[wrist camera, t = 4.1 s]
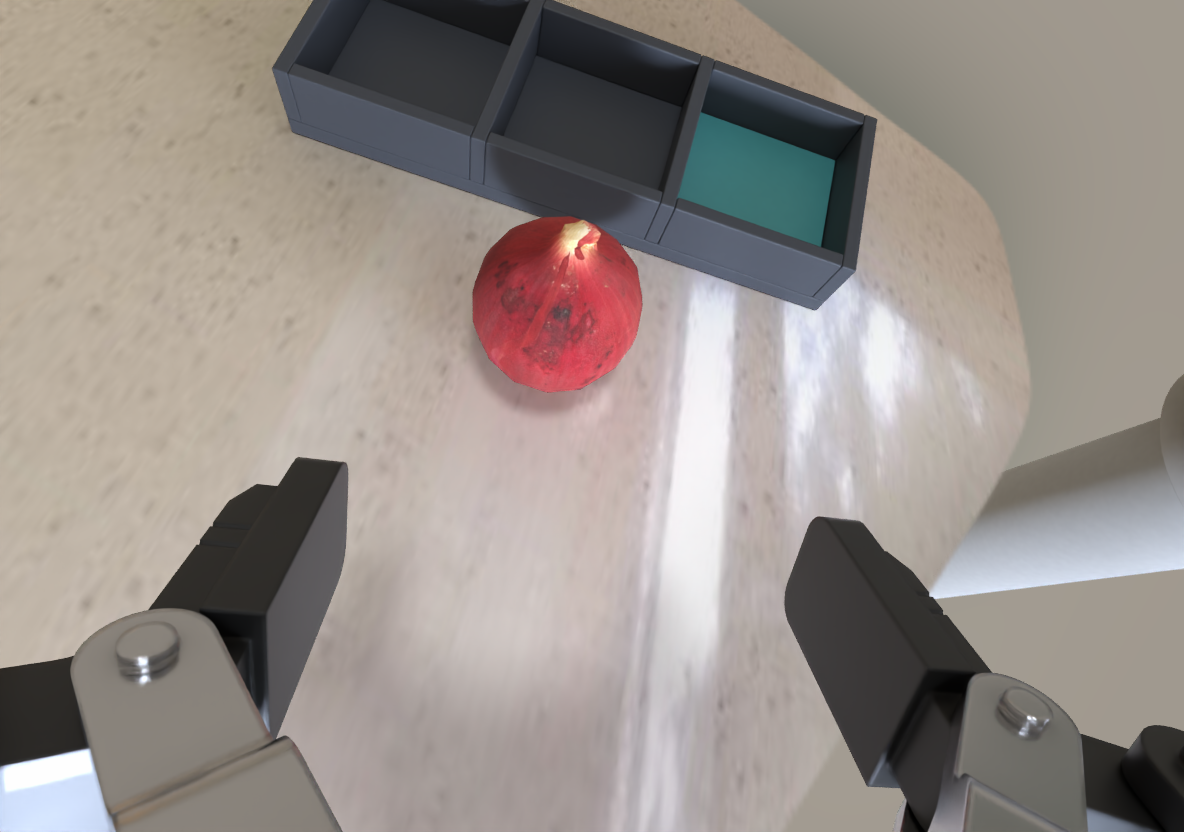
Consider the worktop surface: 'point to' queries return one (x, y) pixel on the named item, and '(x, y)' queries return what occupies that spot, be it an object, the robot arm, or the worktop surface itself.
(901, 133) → the worktop surface
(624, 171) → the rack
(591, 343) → the onion
